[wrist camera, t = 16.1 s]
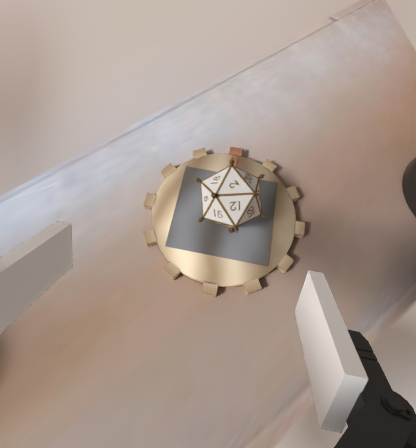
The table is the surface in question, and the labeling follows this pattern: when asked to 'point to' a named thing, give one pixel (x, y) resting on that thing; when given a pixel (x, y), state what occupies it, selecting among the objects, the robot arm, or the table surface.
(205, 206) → the game die
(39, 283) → the robot arm
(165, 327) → the table surface
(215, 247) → the sprocket plate
